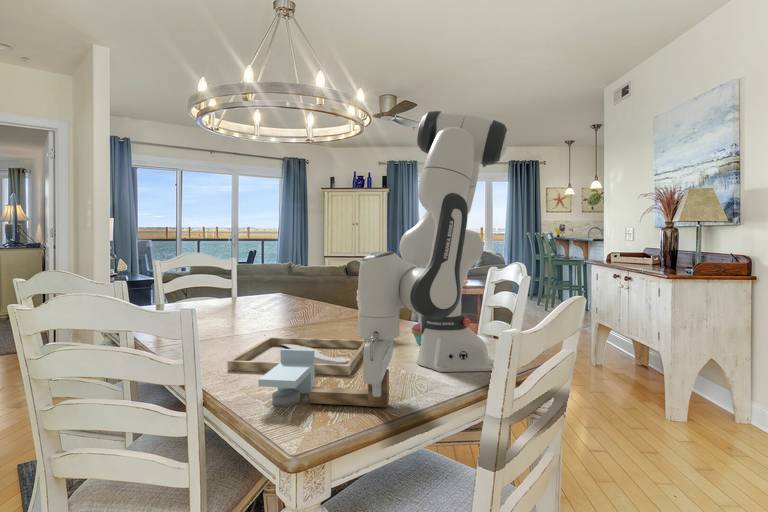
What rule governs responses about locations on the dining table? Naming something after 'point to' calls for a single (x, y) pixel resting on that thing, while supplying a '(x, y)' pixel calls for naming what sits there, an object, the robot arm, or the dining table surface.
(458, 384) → the dining table surface
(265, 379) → the shelf
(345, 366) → the wooden frame
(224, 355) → the dining table surface
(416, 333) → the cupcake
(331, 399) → the brown l-shaped block
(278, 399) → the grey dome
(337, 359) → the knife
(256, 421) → the dining table surface
